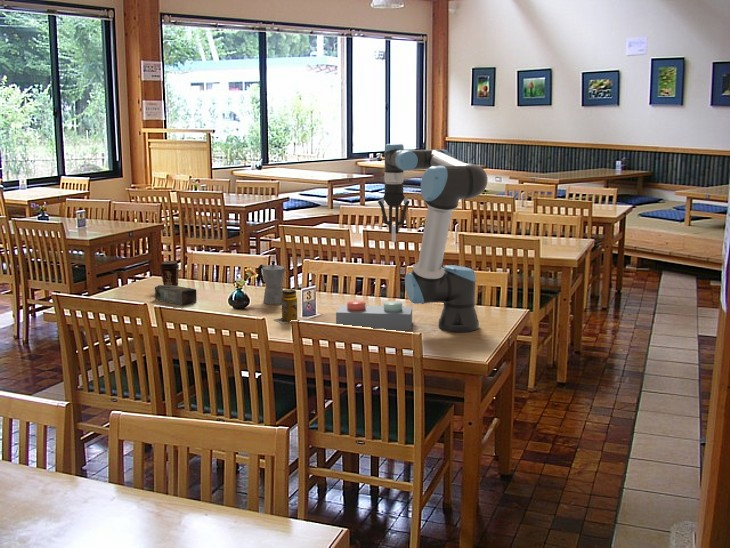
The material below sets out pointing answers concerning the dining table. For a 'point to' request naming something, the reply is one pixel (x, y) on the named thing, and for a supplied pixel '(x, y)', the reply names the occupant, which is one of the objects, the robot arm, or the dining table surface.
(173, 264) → the coffee cup
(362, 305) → the red button
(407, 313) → the control box
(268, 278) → the coffeepot
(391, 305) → the teal button
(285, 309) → the condiment
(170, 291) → the dark grey brick
